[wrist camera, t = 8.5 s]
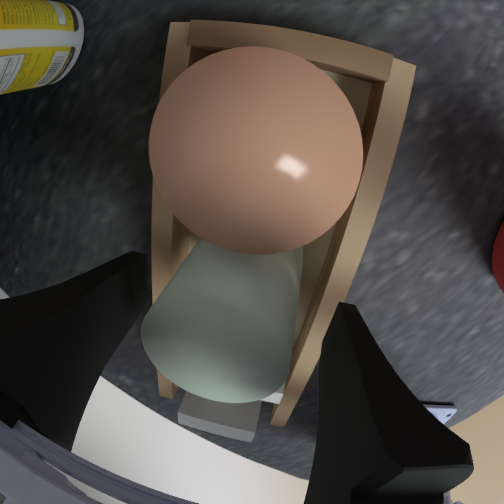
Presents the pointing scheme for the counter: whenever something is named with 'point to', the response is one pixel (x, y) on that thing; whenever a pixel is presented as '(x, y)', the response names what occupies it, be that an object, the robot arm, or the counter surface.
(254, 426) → the pusher
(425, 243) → the counter surface
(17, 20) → the supplement bottle
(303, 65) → the pinkish brown rounded cylinder
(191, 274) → the green jar
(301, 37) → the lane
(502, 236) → the beer can
